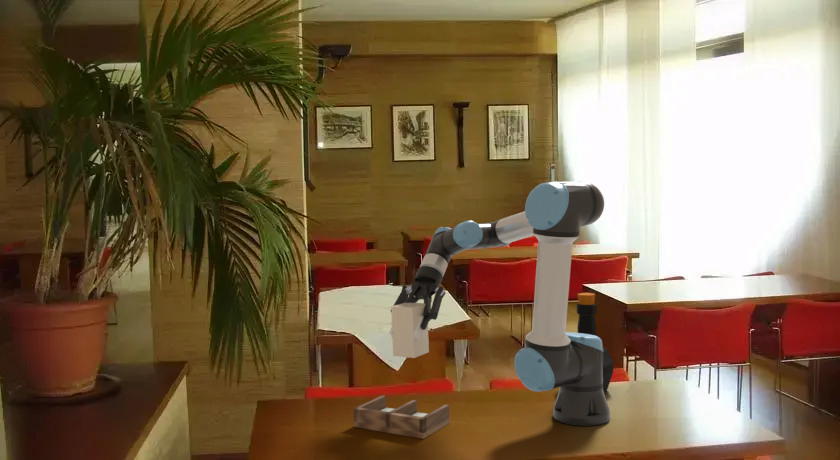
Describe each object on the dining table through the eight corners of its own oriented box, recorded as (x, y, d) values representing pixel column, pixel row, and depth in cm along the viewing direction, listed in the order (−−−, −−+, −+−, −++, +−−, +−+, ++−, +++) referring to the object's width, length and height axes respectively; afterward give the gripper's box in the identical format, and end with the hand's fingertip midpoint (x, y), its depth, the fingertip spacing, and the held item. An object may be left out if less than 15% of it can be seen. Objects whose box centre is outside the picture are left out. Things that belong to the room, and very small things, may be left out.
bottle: (616, 384, 236) (615, 290, 235) (610, 398, 221) (609, 298, 219) (566, 381, 242) (565, 289, 240) (556, 394, 227) (555, 296, 225)
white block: (428, 352, 213) (427, 303, 213) (414, 358, 207) (412, 307, 206) (408, 350, 217) (406, 302, 216) (393, 355, 210) (391, 306, 209)
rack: (449, 423, 202) (449, 405, 202) (423, 438, 190) (423, 419, 190) (382, 412, 213) (382, 395, 213) (354, 426, 201) (353, 408, 201)
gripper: (465, 281, 219) (439, 347, 206) (407, 279, 229) (379, 341, 216) (456, 265, 214) (429, 331, 201) (397, 263, 224) (368, 326, 211)
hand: (403, 336), depth 208 cm, fingers closed on white block, 7 cm apart
